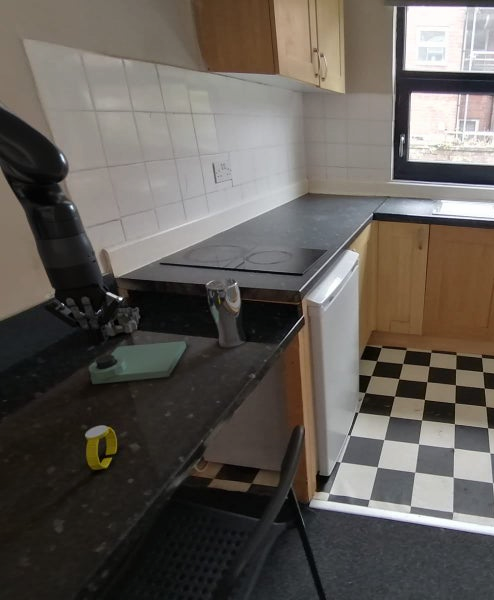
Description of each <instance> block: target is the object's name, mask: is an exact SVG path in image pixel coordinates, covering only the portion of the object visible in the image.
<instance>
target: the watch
mask: <svg viewBox="0 0 494 600" xmlns="http://www.w3.org/2000/svg"><path fill="white" fill-rule="evenodd" d="M84 436H85V437H84V438H85V439H86V441H87V444H86V449H85V456H86V457H85V458H86V462H87V464H88V466H89V467H90V468H91V470H93V471H97V470H99V471H100V470H103V469H104V470H105V469H107V468H108V467H109V466H110V464H111V462H112V459H113V457H106V458H105V457H104V458H103V459H102V460H101V461H100V458H99V454H98V453H99V442H100V440H101V439H103V438H105V441H106V449H105V450H106V451H105V456H109V455H115V454H116V453H117V449H118V439H117V435H116V432H115V430H114V429H113V428H112V427H110V426H107V425H101V424H100V425H96V426H94V427H91V428H90V429H88V430H87V431H86V432H85V434H84Z"/></svg>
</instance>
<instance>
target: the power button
mask: <svg viewBox="0 0 494 600" xmlns="http://www.w3.org/2000/svg"><path fill="white" fill-rule="evenodd" d="M95 362H96V363H97V366H98V368H99V369H106V368H109V367H112V366H114V365H115V364H116V361H115V358H114V356H113V355H111V354H107V355H103V356H100V357H98V358H97V359H96V360H95Z"/></svg>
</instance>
